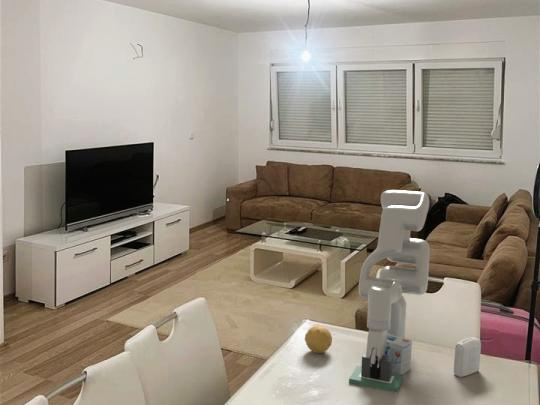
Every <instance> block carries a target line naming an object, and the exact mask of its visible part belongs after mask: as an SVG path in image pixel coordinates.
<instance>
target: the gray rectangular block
mask: <svg viewBox="0 0 540 405" xmlns="http://www.w3.org/2000/svg"><path fill="white" fill-rule="evenodd" d="M366 352H367V351H365V352H364V353H363V355H362V356H361V367H362V368H361V376H362V377H367V378H371V377H370V365H371V356H370V358H367V357H366ZM376 358H378V357H376ZM376 362H378V361H377V360H376ZM392 363H393V357H389V356H384V355H383V357H382V359H381V360H380V366H379V367H380V378H379V379H377V380H382V381H387V382H390V379H391V377H392V373H393V372H392ZM372 379H375V378H372Z"/></svg>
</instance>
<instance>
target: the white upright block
mask: <svg viewBox="0 0 540 405" xmlns="http://www.w3.org/2000/svg"><path fill="white" fill-rule="evenodd" d="M481 349H482V343H481V340H480V339H479V338H477V337H475V336H474V337H472V336H471V337H467V338H464V339H462V340H460V341H459V342H458V343H457V344H455V348H454V362H453V373H454V375H455V376H456V377H461V378H462V377H466V376H467V377H468V376H469V375H472V374H474V373H477V372H478V371H479V370H480V364H481V361H480V360H481V353H482V350H481Z"/></svg>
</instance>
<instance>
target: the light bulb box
mask: <svg viewBox="0 0 540 405" xmlns="http://www.w3.org/2000/svg"><path fill="white" fill-rule="evenodd" d="M412 345H413V340H411V339H408V338H406V337H405V338H402V337H399V336H396V335H393V334H390V333H387V348H386V351H385V353H384V356H389V357H393V363H392V373H396V374H401V375H404V374H406V373H408V372H409V371H410V370H411V364H412V363H411V361H412V347H413V346H412Z"/></svg>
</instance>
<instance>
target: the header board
mask: <svg viewBox="0 0 540 405" xmlns="http://www.w3.org/2000/svg"><path fill="white" fill-rule="evenodd" d="M361 368H362V366H359V365H356V367H355V368H354V370H353V372H352V374H351V375H350V376H349V378H348V383H349V384H353V385H358V386H364V387H368V388H372V389H376V390H377V389H378V390H382V391H388V392H392V393H396V394H397V393H398V392H399V390H400V389H401V386H402V383H403V381H404V374H402V375H401V374H396V373H393V372H392V377H391V379H390V382H387V381H382V380H377V379H372V378H367V377H362V376H361Z"/></svg>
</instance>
